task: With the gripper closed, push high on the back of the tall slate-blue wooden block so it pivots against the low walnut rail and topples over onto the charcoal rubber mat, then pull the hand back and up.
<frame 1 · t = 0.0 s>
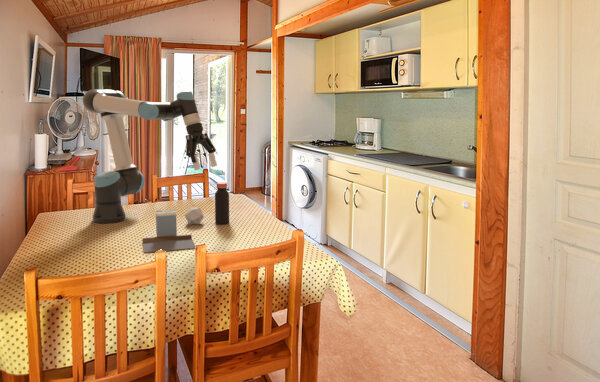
hand: (206, 168, 220), 28 cm above the table, tool tilted 20°, fingers open, 13 cm apart
grey faceted rock: (194, 224, 228), on the table
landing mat: (169, 245, 191), on the table
tall block: (166, 238, 201), on the table
bottle: (222, 223, 230), on the table
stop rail: (167, 240, 198), on the table
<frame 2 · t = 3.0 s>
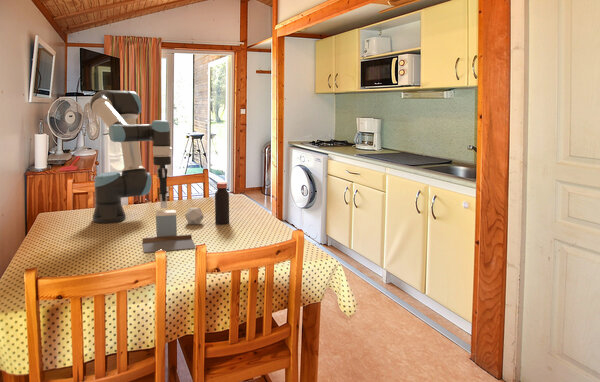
hand: (163, 207, 210), 11 cm above the table, tool pointing down, fingers closed
nothing on the table moved.
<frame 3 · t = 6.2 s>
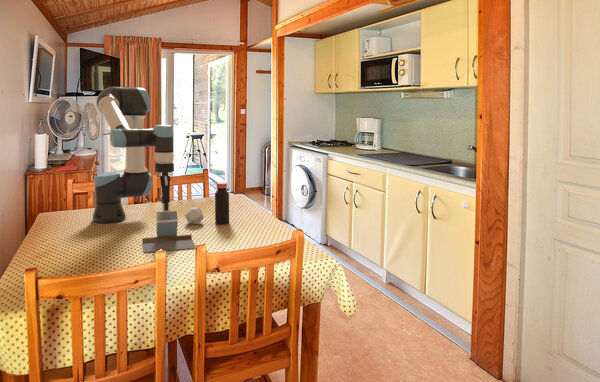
hand: (166, 217, 199), 10 cm above the table, tool pointing down, fingers closed
tall block: (166, 235, 201), point 1 cm above the table, tilted 32°, touching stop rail
everything else where it was.
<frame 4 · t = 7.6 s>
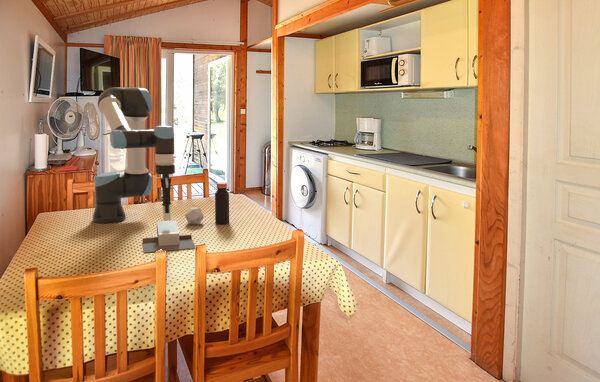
hand: (167, 220, 195), 9 cm above the table, tool pointing down, fingers closed
tall block: (166, 226, 200), point 5 cm above the table, tilted 102°, touching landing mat, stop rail
everything else where it was.
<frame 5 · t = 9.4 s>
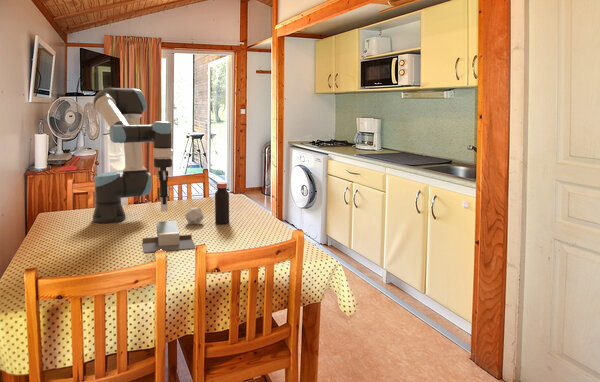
hand: (164, 210, 206), 11 cm above the table, tool pointing down, fingers closed
nothing on the table moved.
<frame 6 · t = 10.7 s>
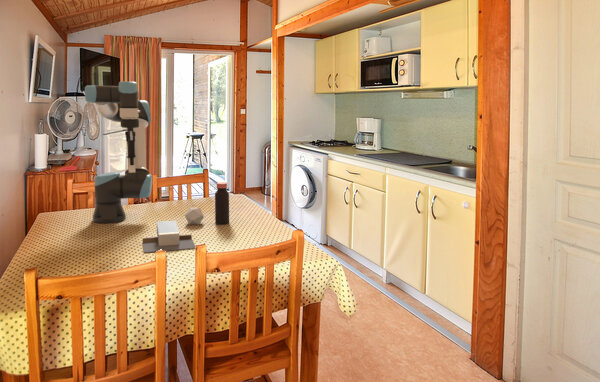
hand: (132, 172, 206), 27 cm above the table, tool pointing down, fingers closed
nothing on the table moved.
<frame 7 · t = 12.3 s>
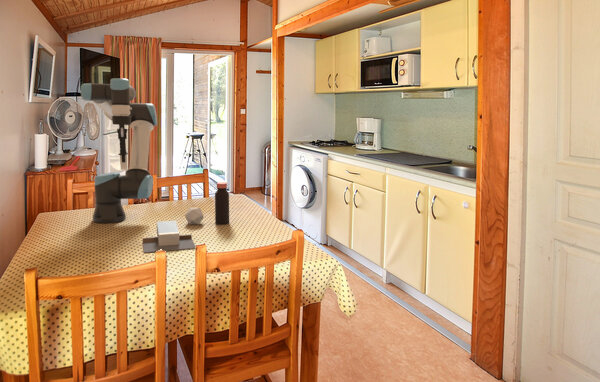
hand: (123, 169, 206), 28 cm above the table, tool pointing down, fingers closed
nothing on the table moved.
at the end: tall block tilted 102°; tall block inside the target area (9.4 cm from its centre), point 5.4 cm above the table; the gripper is holding nothing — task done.
